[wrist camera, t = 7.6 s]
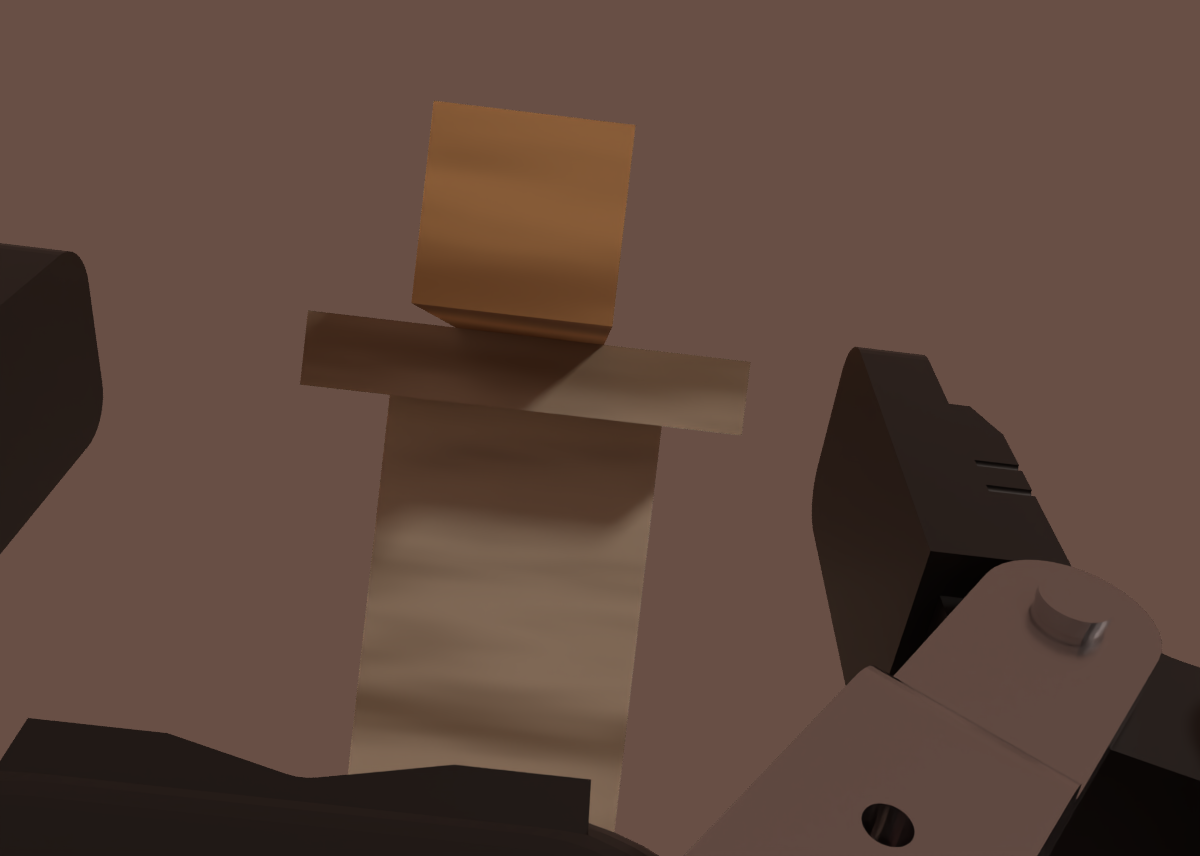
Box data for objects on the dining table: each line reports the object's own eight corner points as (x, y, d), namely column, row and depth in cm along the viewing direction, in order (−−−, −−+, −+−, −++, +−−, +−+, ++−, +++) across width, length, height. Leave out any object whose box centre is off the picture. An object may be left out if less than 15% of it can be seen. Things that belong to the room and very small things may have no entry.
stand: (651, 1526, 31) (790, 365, 30) (139, 1477, 30) (265, 304, 30) (629, 1171, 45) (723, 375, 44) (279, 1136, 44) (366, 334, 44)
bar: (612, 326, 22) (635, 125, 22) (411, 302, 22) (434, 100, 22) (597, 359, 42) (609, 253, 42) (491, 347, 42) (503, 241, 42)
